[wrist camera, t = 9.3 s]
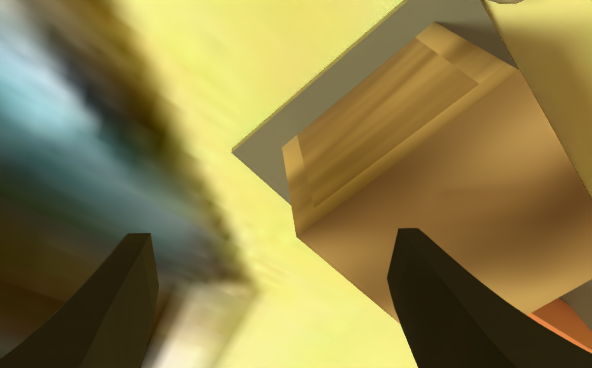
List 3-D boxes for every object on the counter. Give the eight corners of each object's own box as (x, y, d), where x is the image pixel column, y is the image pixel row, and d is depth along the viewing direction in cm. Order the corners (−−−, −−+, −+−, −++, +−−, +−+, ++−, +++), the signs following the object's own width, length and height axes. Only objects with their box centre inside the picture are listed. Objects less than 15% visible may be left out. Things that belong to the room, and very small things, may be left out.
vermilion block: (428, 283, 28) (461, 348, 24) (475, 243, 26) (519, 305, 22) (525, 338, 32) (568, 402, 28) (570, 306, 31) (622, 369, 26)
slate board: (232, 148, 22) (231, 152, 21) (452, -43, 18) (456, -42, 18) (496, 384, 36) (498, 389, 36) (648, 306, 32) (653, 310, 32)
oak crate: (281, 147, 21) (296, 236, 15) (433, 21, 19) (520, 71, 13) (399, 261, 26) (444, 361, 21) (531, 174, 24) (625, 259, 18)
